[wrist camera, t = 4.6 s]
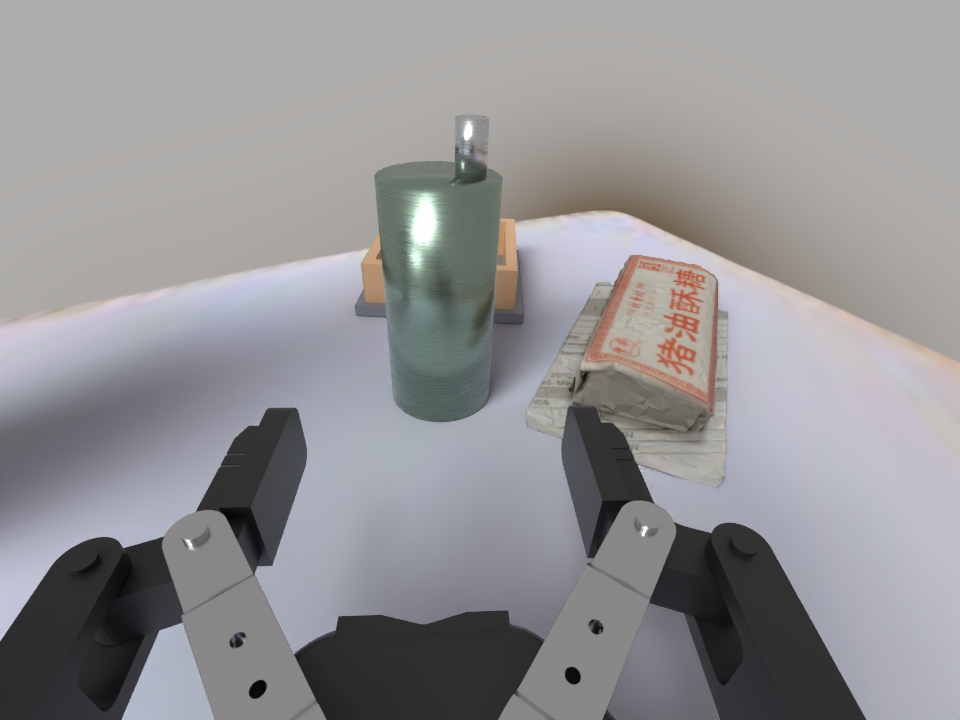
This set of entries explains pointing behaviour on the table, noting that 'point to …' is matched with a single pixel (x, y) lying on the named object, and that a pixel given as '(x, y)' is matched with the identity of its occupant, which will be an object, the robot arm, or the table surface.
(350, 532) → the table surface
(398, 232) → the spout can
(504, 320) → the wooden tray with base
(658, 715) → the table surface
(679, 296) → the packaged product
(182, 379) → the table surface
